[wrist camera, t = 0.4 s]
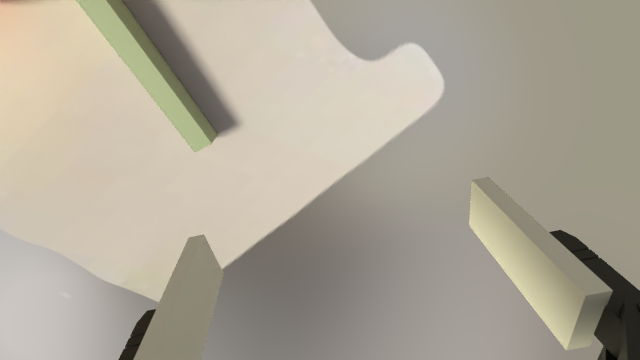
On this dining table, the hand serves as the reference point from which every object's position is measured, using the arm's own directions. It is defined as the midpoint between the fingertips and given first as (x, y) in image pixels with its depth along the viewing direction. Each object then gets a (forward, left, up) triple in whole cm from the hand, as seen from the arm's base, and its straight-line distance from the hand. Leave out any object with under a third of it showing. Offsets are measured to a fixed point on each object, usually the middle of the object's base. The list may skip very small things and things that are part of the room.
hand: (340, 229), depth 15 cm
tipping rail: (-10, -14, -25) cm, 31 cm away
